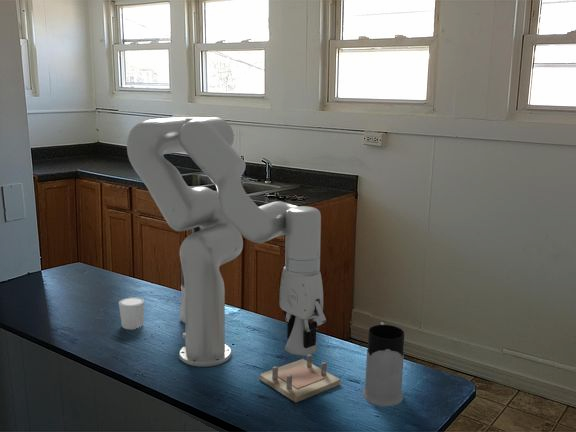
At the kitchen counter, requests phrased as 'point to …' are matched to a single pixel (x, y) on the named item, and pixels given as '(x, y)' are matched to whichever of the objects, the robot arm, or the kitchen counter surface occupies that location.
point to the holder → (384, 365)
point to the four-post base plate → (300, 379)
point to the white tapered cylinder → (132, 312)
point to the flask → (299, 340)
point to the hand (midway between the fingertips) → (301, 341)
